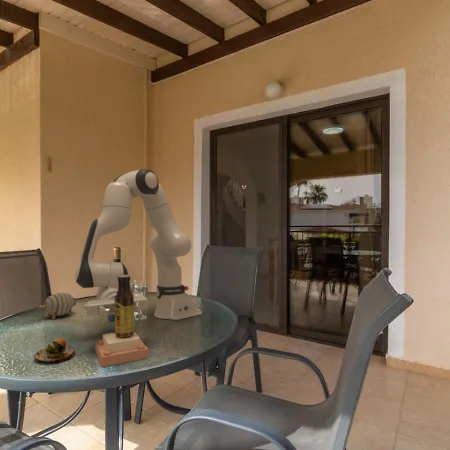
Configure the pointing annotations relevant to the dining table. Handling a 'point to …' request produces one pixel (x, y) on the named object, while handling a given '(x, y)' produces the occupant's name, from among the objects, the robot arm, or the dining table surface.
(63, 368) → the dining table surface
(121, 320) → the sauce bottle
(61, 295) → the toy sheep
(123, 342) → the brick stack
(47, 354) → the burger
